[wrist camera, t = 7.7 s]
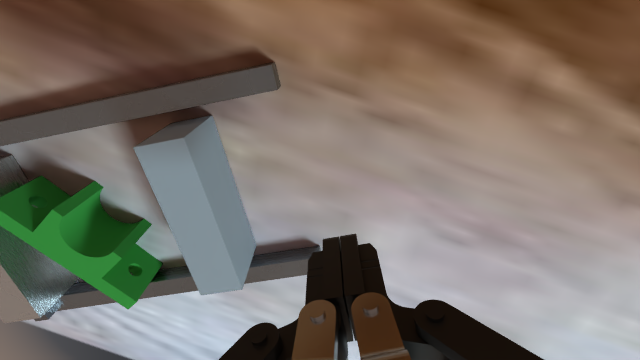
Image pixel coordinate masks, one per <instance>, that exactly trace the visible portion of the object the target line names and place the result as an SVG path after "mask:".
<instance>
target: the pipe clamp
mask: <svg viewBox="0 0 640 360" xmlns="http://www.w3.org/2000/svg"><path fill="white" fill-rule="evenodd" d="M102 189H103V187H102V186H101V185H100V184H98V183H97V182H96V181H94V182H92V183H91V184H89V185H88V186H86V187H85V188H83V189H82V190H80V191H79V192H78V193H76V194H75V195H73V196H72V197H71V196H69V195H68V194H67V193H65V192H64V191H62V190H61V189H60V188H58V187H57V186H56V185H54V184H53V183H51V182H50V181H49V180H47V179H46V178H45V177H43V176H42V175H41V176H40V177H38V178H36V179H34V180H32V181H30V182H28V183H26V184H24V185H23V186H21V187H19V188H17V189H15V190H13V191H11V192H9V193H7V194H6V195H4V196H2V197H0V226H2V227H3V228H5V229H6V230H8V231H9V232H11V233H12V234H14V235H15V236H17V237H18V238H20V239H21V240H23V241H24V242H26V243H28V244H29V245H31V246H32V247H34V248H35V249H37V250H38V251H40V252H41V253H43V254H44V255H46V256H47V257H49V258H50V259H52V260H53V261H55V262H57V263H58V264H60V265H61V266H63V267H64V268H66V269H67V270H69V271H70V272H72V273H73V274H75V275H76V276H78V277H79V278H81V279H83V280H84V281H86V282H87V283H89V284H90V285H92V286H93V287H95V288H96V289H98V290H99V291H101V292H102V293H104V294H105V295H107V296H108V297H110V298H112V299H113V300H115V301H116V302H118V303H119V304H121V305H122V306H124V307H125V308H127V309H129V308H130V307H132V306H133V305H134V304H135V303H136V302H137V301H138V299H139V298H140V296H141V295H142V294H143V292H144V291H145V289H146V288H147V286H148V285H149V283H150V282H151V280H152V279H153V277H154V276H155V275H156V273H157V272H158V270H159V269H160V267H161V266H162V264H163V263H161V262H160V261H158V260H157V259H156V258H154V257H153V256H152V255H150V254H149V253H147V252H146V251H145V250H143V249H142V248H141V247H139V246H138V245H137V244H135V243H136V242H137V241H138V240H139V238H140V237H141V236H142V235H143V234H144V233H145V232H146V230H147V229H148V228H149V227H150V226H151V225H152V224H151V223H149V222H148V221H147V220H146V219H143V220H141V221H140V222H137V223H130V224H129V223H123V222H119V221H117V220H115V219H113V218H112V217H111V216H109V215H108V214H107V213H106V212H105V210H104V209H103V207H102V205H101V203H100V192H101V190H102ZM32 205H34V206H36V207H38V208H36V207H34V206H32ZM130 272H131V273H132V274H133V275H134V276H133V275H131V274H130Z"/></svg>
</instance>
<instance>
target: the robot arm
mask: <svg viewBox="0 0 640 360" xmlns="http://www.w3.org/2000/svg"><path fill="white" fill-rule="evenodd" d="M340 242H341V243H340ZM307 270H308V271H307V286H306V303H305V306H304V307H303V308H302V310H301V311H300V314H299V318H298V319H297V320H295V321H294V322H292V323H290V324H288V325H286V326H284V327H282V328H279V329H277V327H276V326H275V325H273V324H271V323H260V324H257V325H255V326H253V327H252V328H250V329H249V330H248V331H247V332H246V333H245V334H244V335H243V336H242V337H241V338H240V339H239V340H238V341H237V342H236V343H235V344H234V345H233V346H232V347H231V348H230V349H229V350H228V351H227V352H226V353H225V354H224V355H223V356H222V357H221V358H220V359H219V360H348V346H347V342H350V341H353V334H354V338H355V341H356V340H357V342H358V347H359V352H360V357H361V358H360V359H361V360H544V359H542V358H540V357H538V356H537V355H535V354H533V353H532V352H530V351H528V350H526V349H525V348H523V347H521V346H520V345H518V344H516V343H514V342H513V341H511V340H509V339H508V338H506V337H504V336H502V335H501V334H499V333H497V332H496V331H494V330H492V329H490V328H489V327H487V326H485V325H484V324H482V323H480V322H478V321H477V320H475V319H473V318H472V317H470V316H468V315H466V314H465V313H463V312H461V311H460V310H458V309H456V308H454V307H453V306H451V305H449V304H448V303H446V302H443V301H440V300H426V301H423V302H422V303H420V304H419V305H418V306H417V307H416V308H415V309H413V308H406V307H402V306H399V305H397V304H395V303H393V302H392V301H391V300H390V299H389V298H388V296H387V293H386V290H385V285H384V281H383V277H382V272H381V268H380V264H379V259H378V255H377V251H376V249H375V248H374V247H373V246H372V245H371V244H370V243H368V244H361V245H358V241H357V236H356V234H351V235H345V236H340V238H339V237H333V238H327V239H323V251H318V252H313V253H312V255H311V257H310V258H309V260H308V269H307ZM352 329H353V332H352Z"/></svg>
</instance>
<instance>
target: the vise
mask: <svg viewBox="0 0 640 360" xmlns="http://www.w3.org/2000/svg"><path fill="white" fill-rule="evenodd" d="M280 86H281V85H280V81H279V77H278V73H277V69H276V64H275V62H273V63H268V64H263V65H259V66H254V67H249V68H245V69H240V70H235V71H230V72H226V73H221V74H216V75H212V76H207V77H202V78H197V79H193V80H188V81H183V82H179V83H174V84H169V85H165V86H160V87H155V88H150V89H146V90H141V91H136V92H132V93H127V94H122V95H117V96H113V97H108V98H103V99H99V100H94V101H89V102H84V103H80V104H75V105H70V106H66V107H61V108H56V109H51V110H47V111H42V112H37V113H33V114H28V115H23V116H18V117H14V118H9V119H4V120H0V146H4V145H8V144H13V143H18V142H23V141H28V140H33V139H38V138H43V137H48V136H53V135H58V134H63V133H67V132H72V131H77V130H82V129H87V128H92V127H97V126H102V125H107V124H112V123H117V122H121V121H126V120H131V119H136V118H141V117H146V116H151V115H156V114H161V113H166V112H171V111H176V110H180V109H185V108H190V107H195V106H200V105H205V104H210V103H215V102H220V101H225V100H230V99H234V98H239V97H244V96H249V95H254V94H259V93H264V92H269V91H274V90H278V89H279V87H280ZM28 182H29V181H28V179H27V178H26V176H25V174H24V173H23V171H22V170H21V168H20V166H19V165H18V163H17V162H16V160H15V158H14V157H13V155H10V156H5V157H0V197H2V196H4V195H6V194H7V193H9V192H11V191H13V190H15V189H17V188H19V187H21V186H23V185H24V184H26V183H28ZM32 206H34V205H32ZM34 207H36V206H34ZM36 208H38V207H36ZM318 251H321V250H320V246H315V247H308V248H301V249H295V250H288V251H282V252H275V253H269V254H262V255H256V256H253V258H252V261H251V264H250V267H249V270H248V273H247V276H246V279H245V283H244V284H246V283H253V282H260V281H267V280H274V279H280V278H287V277H294V276H301V275H307V271H308V270H307V269H308V260H309V258H310V257H311V255H312V253H313V252H318ZM132 275H133V274H132ZM133 276H134V275H133ZM78 279H79V277H78V276H76V275H75V274H73V273H72V272H70V271H69V270H67V269H66V268H64V267H63V266H61V265H60V264H58V263H57V262H55V261H53V260H52V259H50V258H49V257H47V256H46V255H44V254H43V253H41V252H40V251H38V250H37V249H35V248H34V247H32V246H31V245H29V244H28V243H26V242H24V241H23V240H21V239H20V238H18V237H17V236H15V235H14V234H12V233H11V232H9V231H8V230H6V229H5V228H3V227H2V226H0V319H1V320H2V321H3V323H9V322H16V321H23V320H30V319H34V320H35V321H41V320H48V319H49V318H50V317H51V316H52V315H53V314H54V313H55V312H56V311H60V310H67V309H74V308H81V307H88V306H95V305H102V304H108V303H115V302H116V301H115V300H113V299H112V298H110V297H108V296H107V295H105V294H104V293H102V292H101V291H99V290H98V289H96V288H95V287H93V286H92V285H90V284H89V283H87V282H80V283H75V282H76V281H77V280H78ZM191 291H198V288H197V286H196V284H195V281H194V279H193V277H192V275H191V273H190V271H189V268H188V266H184V267H178V268H171V269H165V270H158V272H157V273H156V275H155V276H154V277H153V279H152V280H151V282H150V283H149V285H148V286H147V288H146V289H145V291H144V292H143V294H142V295H141V296H140V298H139V299H143V298H150V297H157V296H163V295H170V294H177V293H184V292H191Z"/></svg>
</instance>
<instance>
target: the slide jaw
mask: <svg viewBox="0 0 640 360" xmlns="http://www.w3.org/2000/svg"><path fill="white" fill-rule="evenodd" d="M133 148H134V150H135V152H136V155H137V157H138V159H139V161H140V163H141V166H142V168H143V170H144V172H145V174H146V176H147V179H148V181H149V183H150V185H151V187H152V190H153V192H154V194H155V196H156V198H157V201H158V203H159V205H160V207H161V209H162V211H163V214H164V216H165V218H166V220H167V222H168V225H169V227H170V229H171V231H172V233H173V236H174V238H175V240H176V242H177V244H178V246H179V249H180V251H181V253H182V255H183V257H184V260H185V262H186V264H187V266H188V268H189V271H190V273H191V275H192V277H193V279H194V281H195V284H196V286H197V288H198V290H199V292H200V295H207V294H214V293H221V292H228V291H235V290H242V289H243V286H244V283H245V279H246V276H247V273H248V270H249V267H250V264H251V261H252V258H253V254H254V251H255V248H256V243H255V240H254V237H253V234H252V231H251V228H250V225H249V222H248V219H247V217H246V214H245V211H244V208H243V205H242V202H241V199H240V196H239V193H238V190H237V187H236V184H235V181H234V178H233V175H232V172H231V169H230V166H229V163H228V160H227V157H226V155H225V152H224V149H223V146H222V143H221V140H220V137H219V134H218V131H217V128H216V125H215V122H214V119H213V116H212V115H211V116H206V117H201V118H196V119H191V120H186V121H181V122H176V123H171V124H169V125H168V126H166V127H165V128H163V129H162V130H160V131H158V132H157V133H155V134H154V135H152V136H151V137H149V138H147V139H146V140H144V141H143V142H141V143H140V144H138V145H136V146H135V147H133Z"/></svg>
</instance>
